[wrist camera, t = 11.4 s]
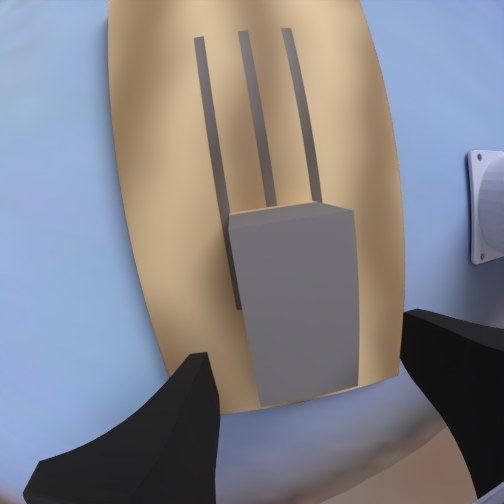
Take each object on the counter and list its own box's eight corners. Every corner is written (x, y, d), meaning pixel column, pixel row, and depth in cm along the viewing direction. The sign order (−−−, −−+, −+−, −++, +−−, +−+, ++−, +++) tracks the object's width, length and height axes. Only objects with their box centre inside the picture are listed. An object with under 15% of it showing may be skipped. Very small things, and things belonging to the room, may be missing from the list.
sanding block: (313, 200, 14) (353, 210, 9) (325, 331, 16) (358, 385, 11) (229, 213, 14) (228, 229, 9) (252, 345, 16) (260, 407, 11)
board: (339, -18, 12) (347, -30, 11) (388, 363, 18) (398, 375, 17) (116, 5, 12) (109, -6, 11) (187, 403, 18) (185, 418, 17)
